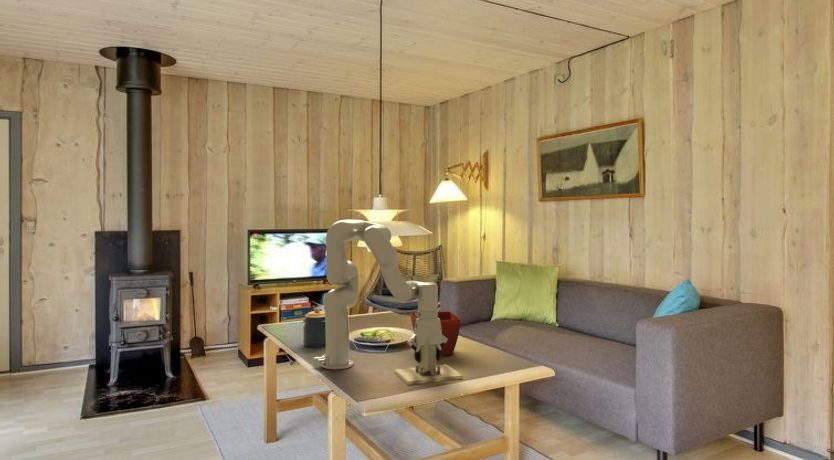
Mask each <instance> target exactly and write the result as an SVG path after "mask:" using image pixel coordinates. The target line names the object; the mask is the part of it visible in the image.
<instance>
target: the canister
mask: <svg viewBox="0 0 834 460" xmlns="http://www.w3.org/2000/svg"><path fill="white" fill-rule="evenodd" d="M304 317H305V318H304V319H302V321H303V327H302V329H303V339H302V342H303V346H304V347H305V348H306V347H307V348H311V349H312V348H313V349H314V348H326V321H325V311H322V310H320V308H319V307H315V308H314V311H309V312H307V313H306V314H304Z"/></svg>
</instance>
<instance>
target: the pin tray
mask: <svg viewBox="0 0 834 460" xmlns="http://www.w3.org/2000/svg"><path fill="white" fill-rule="evenodd" d="M394 374H395V375H397V376H398V378H399V379H400V380H402V381H403V382H404V383H405V384H406V385H407V386H410V385H418V384H426V383H435V382H444V381H455V380H461V379H462V380H463V379H464V378H463V376H464V375H462V374H461V373H460V372H459V371H457V370H456V369H454V368H452V367H450V366H449V365H448V364H445V363H443V364H436V368H434V369H431V370H429V371H424V370H423V368H420V369H418V364H415V366H414V367H406V368H397V369H394Z"/></svg>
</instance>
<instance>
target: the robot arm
mask: <svg viewBox="0 0 834 460" xmlns="http://www.w3.org/2000/svg"><path fill="white" fill-rule="evenodd" d="M391 240H392V232H391V230H390V229H389V228H388V227H387V226H386V225H383V224H378V223H373V222H369V221H365V220H361V219H343V220H338V221H336V222H334V223H333V224H332V225H331V226H330V227H329V228H328V230H327V231H326V235H325V249H326V252H325V253H326V255H325V257H326V258H325V259H326V263H325V265H326V266H325V268H326V269H325V271H326V280H327V281H328V283H329V284H330V285H331V286H332V285H333V286H337V287H336V288H332V289H330V290H329V291H327V292H326V293H325V295H324V297H323V301H322V304H323V305H322V306H323V310H324V312H325V321H326V346H325V353H324V354H323V355H321V356H314V357H313V362H314V363H318V364H319V363H321V367H322V368H324V369H328V370H344V369H349V368H352V367H353V365H354V362H353V360H351V359H350V320H349V319H350V318H349V314H348V311H347V310H348V309H351V308H353V307H354V306H356V304H357V303H358V301H359V271H358V270H359V269H358V268H357V265H356V264H355V263H354V262H353V261H351V260H348V248H347V245H346V242H349V241H351V242H352V241H361V242H364V244H366V247H367V248H368V250H369V251H370V252H371V254H372V256H373V257H374V259H375V260H376V262H377V263H378V265H379V267H380V270H381V275H382V278H383V281H384V283H385V285H386V287H387V289H388V290H389V292H390V293H391V294H392V296H393V298H394V299H395V300H396V301H398V302H399V303H402V304H404V303H405V304H407V303H409V302H411V301H415V300H418V301H417V312H414V313H415V316H418V318H417V319H416V324H415V331H413V335H412V337H410V338H409V339H408V340H407V342H406V343H407V344H408V345H409V347H410V348H411V349H412V350H413V351H414V360H415V362H417V363H418V364H419V362H420V352H419V350H420V348H421V346H425V345H426V342H425V340H429V345H436V346H437V355H436V361H439V362H440V358H441V356H440V350H441V349H442V347H443V346H444V345H445V343H446V342H447V340H448V339H447V338H446V337H445V336H444V335H442V330H441V322H440V318H438V312H439V311H438V310H439V309H438V308H439V307H438V305H439V304H438V303H439V302H438V301H439V297H438V295H439V294H438V293H439V289H438V284H437V283H436V282H431V281H429V282H428V281H426V282H422V281H417V280H405V279H406V278H404V276H403V274H402V273H401V271H400V268H399V261H400V255H399V253H398V252H397V250H396V249H395V247H394V246H393V244H392V243H391ZM442 339H443V340H442ZM413 343H415V344H413Z"/></svg>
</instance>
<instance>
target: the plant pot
mask: <svg viewBox="0 0 834 460" xmlns="http://www.w3.org/2000/svg"><path fill="white" fill-rule="evenodd" d="M415 313H416V312H410V320H411V325H412V330H413V332H414V331H415V324H416V319H417V318H418V316H415ZM438 318H440V322H441V330H442V335H444V336H445V337H446V338H447V339H448V340H447V342H446V343H445V345H444V346H443V347H442V349H441V350H440V357H450V356H452V355H454V351H455V348H456V346H457V342H458V338H459V334H460V328H461V322H462V319H461V318H460V317H459V316H457V315H456V314H454V313H453V312H452V311H450V310H447V311H438ZM442 340H443V339H442Z"/></svg>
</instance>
